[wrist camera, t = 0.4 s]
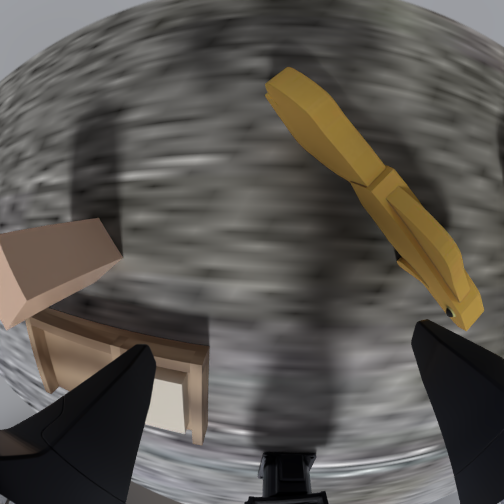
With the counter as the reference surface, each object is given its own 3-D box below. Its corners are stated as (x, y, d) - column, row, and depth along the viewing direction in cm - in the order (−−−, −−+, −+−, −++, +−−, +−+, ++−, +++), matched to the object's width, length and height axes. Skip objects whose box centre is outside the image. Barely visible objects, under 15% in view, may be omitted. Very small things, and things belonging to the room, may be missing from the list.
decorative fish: (454, 294, 20) (517, 316, 10) (432, 317, 20) (489, 352, 11) (298, 118, 23) (287, 52, 13) (274, 139, 23) (251, 79, 14)
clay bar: (123, 257, 22) (27, 300, 10) (95, 282, 23) (6, 330, 11) (98, 217, 22) (-4, 234, 10) (73, 244, 22) (-21, 273, 11)
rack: (207, 425, 25) (202, 445, 22) (58, 379, 26) (46, 391, 23) (209, 346, 23) (201, 365, 20) (41, 305, 24) (24, 314, 21)
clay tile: (189, 421, 24) (185, 433, 22) (145, 410, 24) (139, 422, 22) (187, 372, 23) (181, 384, 21) (138, 361, 23) (129, 372, 21)
